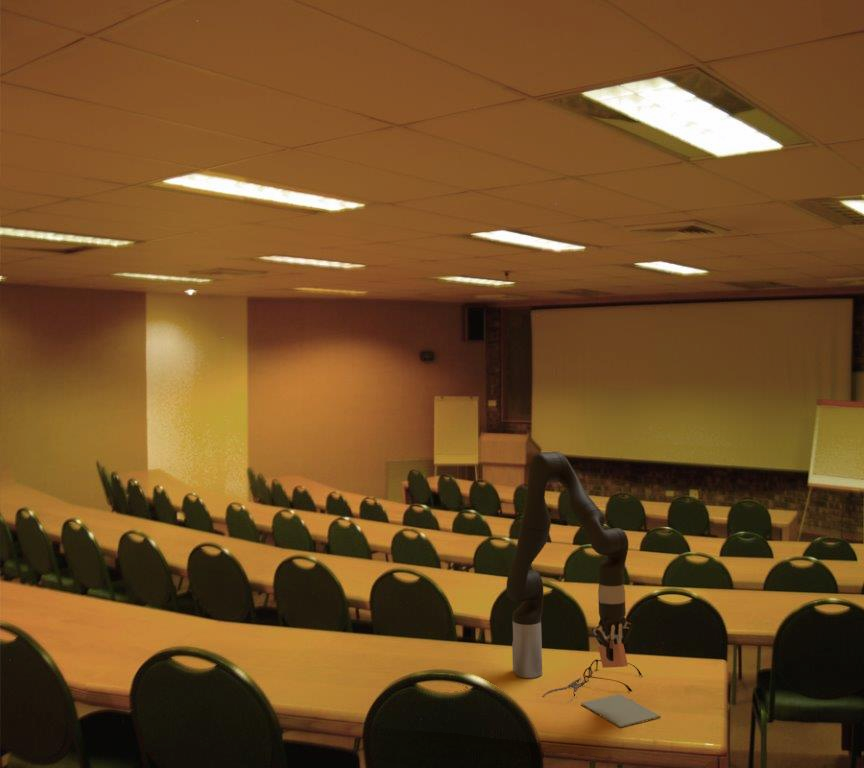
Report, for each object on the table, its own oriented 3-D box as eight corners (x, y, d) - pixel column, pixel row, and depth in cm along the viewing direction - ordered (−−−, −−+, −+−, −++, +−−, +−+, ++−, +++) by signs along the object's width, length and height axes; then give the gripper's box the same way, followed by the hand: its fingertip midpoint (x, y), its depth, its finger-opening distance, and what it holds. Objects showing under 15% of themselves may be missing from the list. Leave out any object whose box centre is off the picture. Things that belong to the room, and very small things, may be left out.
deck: (602, 667, 234) (598, 646, 236) (607, 666, 235) (603, 645, 237) (622, 666, 226) (618, 644, 227) (627, 665, 226) (623, 643, 228)
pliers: (540, 697, 242) (560, 674, 260) (540, 700, 242) (560, 677, 260) (571, 702, 238) (589, 679, 256) (571, 705, 238) (589, 682, 256)
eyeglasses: (596, 669, 266) (595, 657, 266) (644, 676, 259) (644, 664, 259) (580, 686, 252) (580, 673, 252) (631, 694, 244) (631, 681, 244)
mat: (581, 704, 237) (581, 702, 237) (619, 695, 243) (619, 693, 243) (620, 728, 221) (620, 726, 221) (660, 717, 227) (660, 715, 227)
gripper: (623, 593, 237) (624, 652, 237) (584, 599, 231) (586, 659, 231) (639, 598, 230) (641, 659, 230) (599, 605, 225) (601, 667, 225)
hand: (613, 659), depth 231 cm, fingers closed on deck, 1 cm apart
